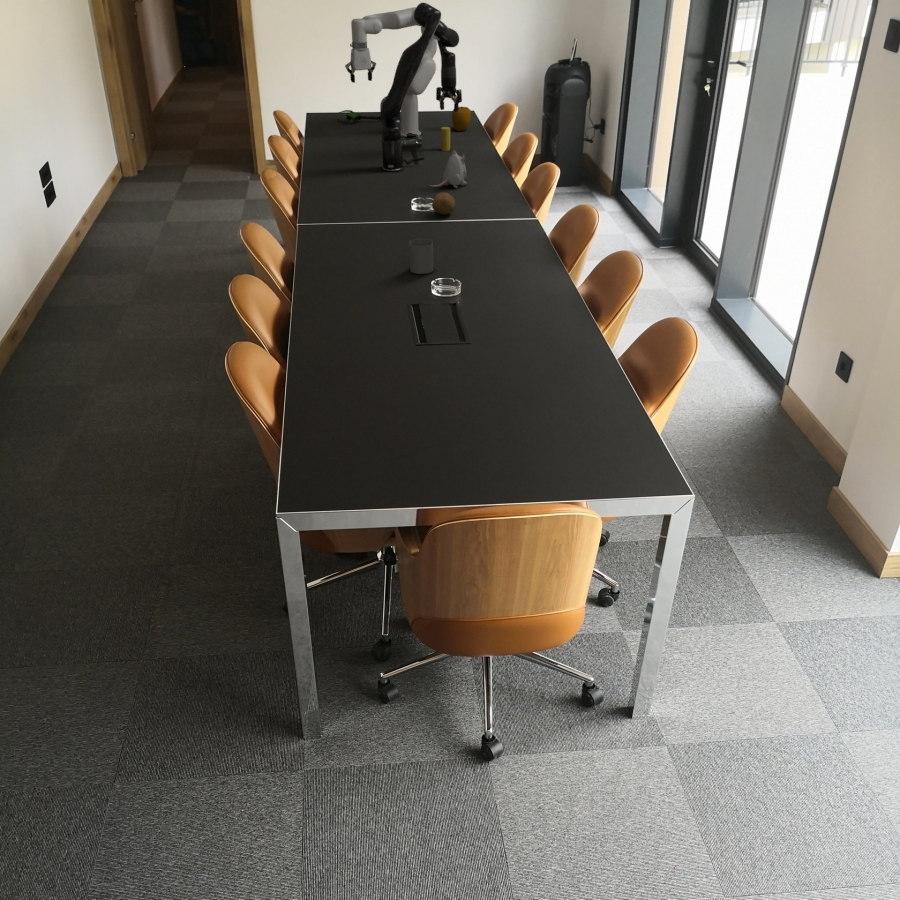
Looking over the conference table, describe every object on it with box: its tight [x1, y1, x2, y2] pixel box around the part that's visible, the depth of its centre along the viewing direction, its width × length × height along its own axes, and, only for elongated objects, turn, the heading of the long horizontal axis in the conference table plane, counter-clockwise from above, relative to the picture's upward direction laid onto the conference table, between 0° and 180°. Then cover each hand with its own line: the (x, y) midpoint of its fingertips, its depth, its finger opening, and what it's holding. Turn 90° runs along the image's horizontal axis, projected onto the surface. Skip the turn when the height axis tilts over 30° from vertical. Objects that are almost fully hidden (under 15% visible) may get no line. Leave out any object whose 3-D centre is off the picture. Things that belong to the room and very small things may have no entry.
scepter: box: [337, 109, 381, 125], centre depth 507 cm, size 6×13×30 cm
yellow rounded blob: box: [451, 105, 472, 132], centre depth 487 cm, size 11×11×13 cm
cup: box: [408, 237, 434, 275], centre depth 305 cm, size 8×8×10 cm
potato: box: [431, 192, 456, 216], centre depth 360 cm, size 10×14×8 cm
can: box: [440, 126, 451, 152], centre depth 451 cm, size 5×5×11 cm
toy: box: [428, 149, 468, 189], centre depth 390 cm, size 9×24×15 cm, turn 137°
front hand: (449, 110), depth 434 cm, fingers open, 8 cm apart
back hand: (361, 81), depth 453 cm, fingers open, 9 cm apart
